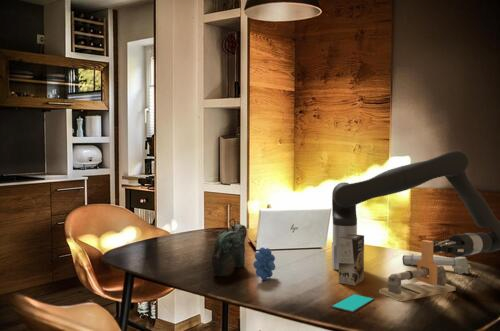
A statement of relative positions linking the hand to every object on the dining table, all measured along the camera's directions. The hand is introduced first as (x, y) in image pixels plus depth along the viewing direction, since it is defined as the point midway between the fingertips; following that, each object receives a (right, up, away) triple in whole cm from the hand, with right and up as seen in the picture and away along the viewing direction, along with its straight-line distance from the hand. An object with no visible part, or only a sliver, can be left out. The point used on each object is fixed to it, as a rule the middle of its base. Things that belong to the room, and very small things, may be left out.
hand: (429, 249), depth 167 cm
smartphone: (-28, -15, -13) cm, 35 cm away
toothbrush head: (+12, -12, +27) cm, 32 cm away
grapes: (-54, -13, +12) cm, 57 cm away
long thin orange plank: (-1, -11, 0) cm, 11 cm away
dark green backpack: (-67, -13, +25) cm, 73 cm away
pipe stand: (-5, -14, -2) cm, 14 cm away
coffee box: (-24, -13, +10) cm, 29 cm away
